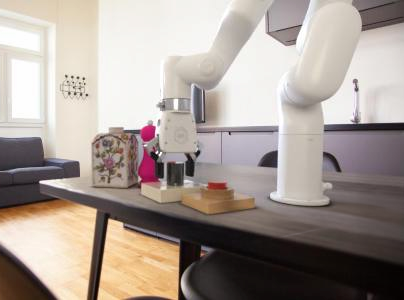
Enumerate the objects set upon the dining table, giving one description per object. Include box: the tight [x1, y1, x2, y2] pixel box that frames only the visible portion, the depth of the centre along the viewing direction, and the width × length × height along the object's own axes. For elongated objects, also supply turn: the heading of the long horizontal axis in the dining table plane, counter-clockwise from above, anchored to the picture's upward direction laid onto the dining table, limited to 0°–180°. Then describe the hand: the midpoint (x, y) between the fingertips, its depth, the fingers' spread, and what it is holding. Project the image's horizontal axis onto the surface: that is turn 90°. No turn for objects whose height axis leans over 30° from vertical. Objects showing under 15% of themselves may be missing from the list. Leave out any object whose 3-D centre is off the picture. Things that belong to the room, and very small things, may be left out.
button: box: [207, 179, 228, 190], centre depth 64 cm, size 4×4×2 cm
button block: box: [181, 184, 255, 215], centre depth 64 cm, size 12×10×4 cm
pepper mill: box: [138, 119, 161, 188], centre depth 87 cm, size 7×7×20 cm
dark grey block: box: [166, 160, 185, 186], centre depth 74 cm, size 4×4×6 cm
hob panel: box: [140, 179, 207, 204], centre depth 74 cm, size 14×11×3 cm
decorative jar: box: [90, 126, 140, 189], centre depth 91 cm, size 12×12×18 cm
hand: (175, 176), depth 74 cm, fingers open, 8 cm apart
